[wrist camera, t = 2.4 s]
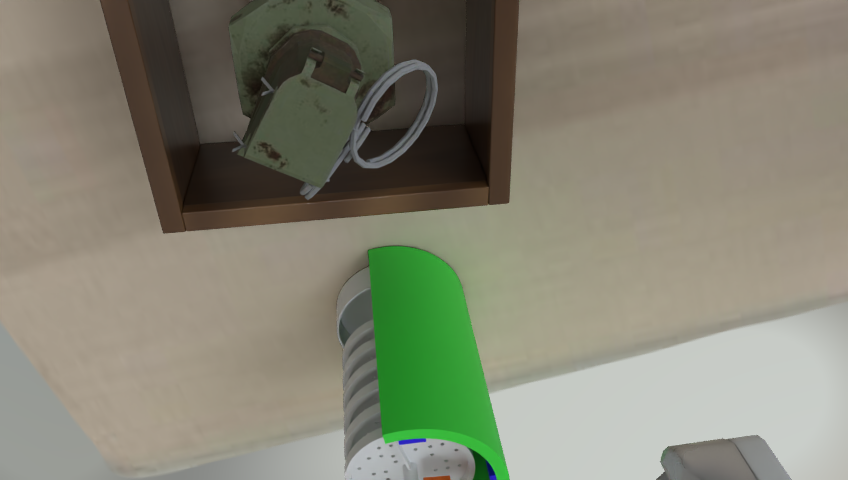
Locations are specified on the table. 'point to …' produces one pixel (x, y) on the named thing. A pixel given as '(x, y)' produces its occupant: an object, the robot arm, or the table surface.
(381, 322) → the green-shelled ribbed roller
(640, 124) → the table surface
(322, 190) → the wooden box
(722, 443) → the robot arm
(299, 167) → the grenade
